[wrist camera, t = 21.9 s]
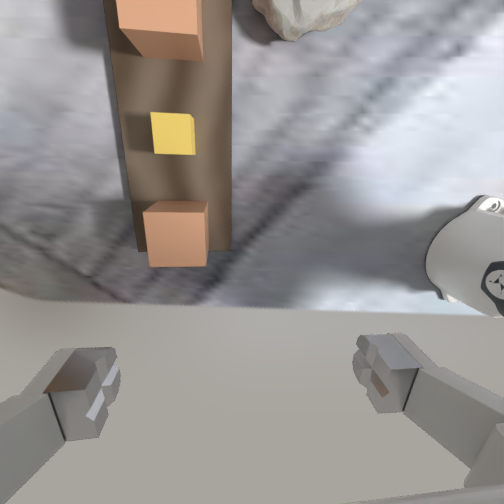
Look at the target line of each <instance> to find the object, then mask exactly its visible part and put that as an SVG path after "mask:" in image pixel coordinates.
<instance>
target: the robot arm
mask: <svg viewBox="0 0 504 504" xmlns="http://www.w3.org/2000/svg"><path fill="white" fill-rule="evenodd" d="M426 272H427V275H428V277H429V279H430V280H431V282H432V283H433V284H434V285H436V286H437V287H438V288H439V289H440V290H441V293H442V296H443V298H444V299H445V300H447V301H448V302H451V303H454V302H459V301H460V302H462V303H464V304H466V305H468V306H470V307H472V308H474V309H476V310H477V311H479V312H481V313H483V314H485V315H487V316H489V317H492V318H497V317H504V200H503V199H499V198H495V197H491V196H487V195H486V196H483V197H481V198H480V199H478V200H477V201H476V202H475V203H474V204H473V205H472V206H471V208H470V209H469V210H468V211H466V212H465V213H463V214H462V215H460V216H458V217H456V218H455V219H453V220H452V221H450V222H449V223H448V224H447V225H446V226H445V227H444V228H443V229H442V230H441V231H440V232H439V233H438V234H437V236H436V237H435V239H434V240H433V242H432V244H431V246H430V248H429V250H428V253H427V257H426ZM356 345H357V346H358V348H359V350H358V351H357V352H356V353H355V354H354V357H353V362H352V363H353V370H354V373H355V375H356V378H357V380H358V381H359V383H360V384H362V385H363V386H365V387H366V388H367V394H366V395H367V396H368V398H369V400H370V401H371V403H372V405H373V406H374V408H375V410H376V411H377V413H397V412H404V413H403V414H404V415H406V416H407V417H408V418H409V419H410V420H412V421H413V422H414V423H415V424H417V425H418V426H419V427H420V428H421V429H423V430H424V431H425V432H426V433H428V434H429V435H430V436H431V437H432V438H434V439H435V440H436V441H437V442H438V443H440V444H441V445H442V446H443V447H444V448H446V449H447V450H448V451H449V452H451V453H452V454H453V455H454V456H456V457H457V458H458V459H459V460H460V461H462V462H463V463H464V464H465V465H466V466H468V467H469V468H470V469H471V470H470V471H469V473H468V475H467V477H466V479H465V481H464V487H465V488H462V489H454V490H447V491H438V492H431V493H423V494H415V495H407V496H400V497H391V498H384V499H376V500H368V501H360V502H353V503H345V504H504V397H502V396H500V395H498V394H496V393H494V392H492V391H490V390H488V389H486V388H484V387H482V386H480V385H478V384H476V383H474V382H472V381H470V380H468V379H466V378H464V377H462V376H460V375H458V374H456V373H454V372H452V371H450V370H448V369H446V368H444V367H438V366H437V365H436V364H435V363H434V362H433V361H432V360H431V359H430V358H429V357H428V356H427V355H426V354H425V353H424V352H423V351H422V350H421V349H420V348H419V347H418V346H417V345H416V344H415V343H414V342H413V341H412V340H411V339H410V338H409V337H408V336H407V335H405V334H404V333H401V332H399V333H387V334H370V335H360V336H359V337H358V339H357V343H356ZM116 358H117V355H116V351H115V349H114V348H112V347H103V348H102V347H100V348H99V347H98V348H74V349H60V350H58V351H56V352H55V353H54V354H53V356H52V357H51V358H50V359H49V360H48V362H47V363H46V364H45V365H44V366H43V368H42V369H41V370H40V371H39V372H38V374H37V375H36V376H35V377H34V378H33V379H32V381H31V382H30V383H29V384H28V386H26V388H25V389H24V390H23V391H22V392H21V394H20V395H16V396H12V397H10V398H8V399H7V400H5V401H3V402H2V403H0V504H5V503H6V502H7V501H8V500H9V499H10V498H11V497H12V496H13V495H14V494H15V493H16V492H17V491H18V490H19V489H20V488H21V487H22V486H23V485H24V484H25V483H26V482H27V481H28V480H29V479H30V478H31V477H32V476H33V475H34V474H35V473H36V472H37V471H38V470H39V469H40V468H41V467H42V466H43V465H44V464H45V463H46V462H47V461H48V460H49V459H50V458H51V457H52V456H53V455H54V454H55V453H56V452H57V451H58V450H59V449H60V448H61V447H62V446H63V445H64V444H65V442H66V441H75V440H83V439H92V438H98V437H99V435H100V433H101V431H102V428H103V426H104V424H105V422H106V419H107V417H108V410H107V407H108V406H109V405H110V404H111V403H112V402H114V401H115V398H116V396H117V394H118V391H119V386H120V369H119V367H118V366H116V365H115V364H114V362H115V360H116Z"/></svg>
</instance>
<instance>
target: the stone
mask: <svg viewBox="0 0 504 504" xmlns="http://www.w3.org/2000/svg"><path fill="white" fill-rule="evenodd" d="M361 1H362V0H252V4H253V7H254V8H255V9H256V10H257V11H259V12H260V13H262V14H263V15H264V16H265V18H266V21H267V23H268V25H269V26H270V28H272V29H273V30H274V32H276V33H277V34H278V35H279V36H280V37H281V38H282V39H283V40H286V41H293V42H295V41H296V40H297V38H300V37H301V36H303V35H304V34H305V33H306V32H309V31H325V30H328V29H330V28H332V27H335V26H337V25H339V24H341V23H342V22H343V21H344V20H345V19H346V18H347V16H348V15H349V14H350V13H351V11H352V10H353V9H354V8H355V7H356V6H357V5H358V4H359V3H360V2H361Z"/></svg>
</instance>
